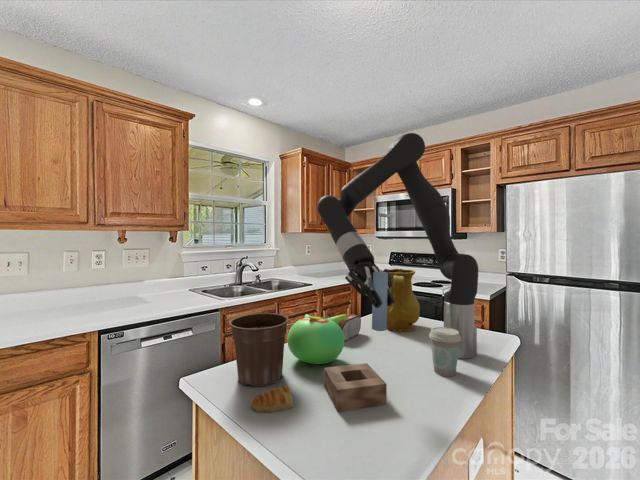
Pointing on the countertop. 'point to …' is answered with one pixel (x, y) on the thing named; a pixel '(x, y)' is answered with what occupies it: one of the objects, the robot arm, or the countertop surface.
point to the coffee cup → (445, 350)
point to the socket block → (354, 387)
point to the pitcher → (402, 302)
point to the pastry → (273, 400)
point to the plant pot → (259, 347)
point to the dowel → (381, 288)
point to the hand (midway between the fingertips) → (385, 304)
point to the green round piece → (316, 339)
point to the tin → (350, 326)
